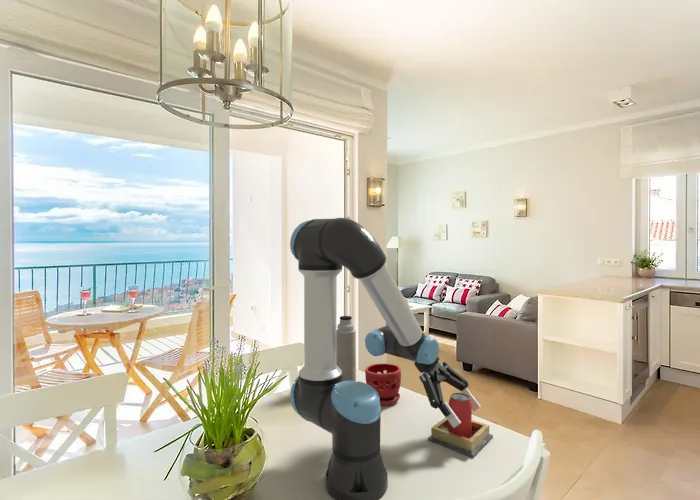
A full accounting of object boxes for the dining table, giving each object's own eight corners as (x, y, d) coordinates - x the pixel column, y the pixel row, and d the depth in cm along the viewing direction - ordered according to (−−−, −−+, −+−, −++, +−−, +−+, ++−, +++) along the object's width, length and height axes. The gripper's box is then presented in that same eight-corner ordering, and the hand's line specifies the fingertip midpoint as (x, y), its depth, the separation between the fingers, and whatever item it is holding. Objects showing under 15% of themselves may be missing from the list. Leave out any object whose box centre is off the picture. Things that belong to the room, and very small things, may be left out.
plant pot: (401, 394, 149) (401, 362, 149) (400, 408, 136) (400, 374, 136) (367, 391, 151) (367, 361, 151) (363, 406, 138) (362, 372, 138)
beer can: (446, 438, 114) (446, 398, 114) (451, 428, 120) (451, 390, 119) (469, 444, 111) (469, 402, 111) (473, 433, 117) (473, 394, 116)
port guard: (473, 457, 106) (473, 444, 105) (427, 440, 115) (427, 427, 115) (492, 437, 116) (493, 425, 116) (449, 423, 125) (449, 411, 125)
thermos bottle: (332, 384, 159) (331, 316, 158) (346, 380, 164) (346, 313, 163) (345, 390, 153) (344, 319, 152) (359, 385, 158) (359, 316, 157)
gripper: (434, 353, 134) (476, 408, 125) (393, 372, 115) (439, 439, 106) (448, 340, 131) (493, 396, 121) (408, 358, 112) (457, 426, 102)
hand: (468, 416), depth 114 cm, fingers open, 13 cm apart
